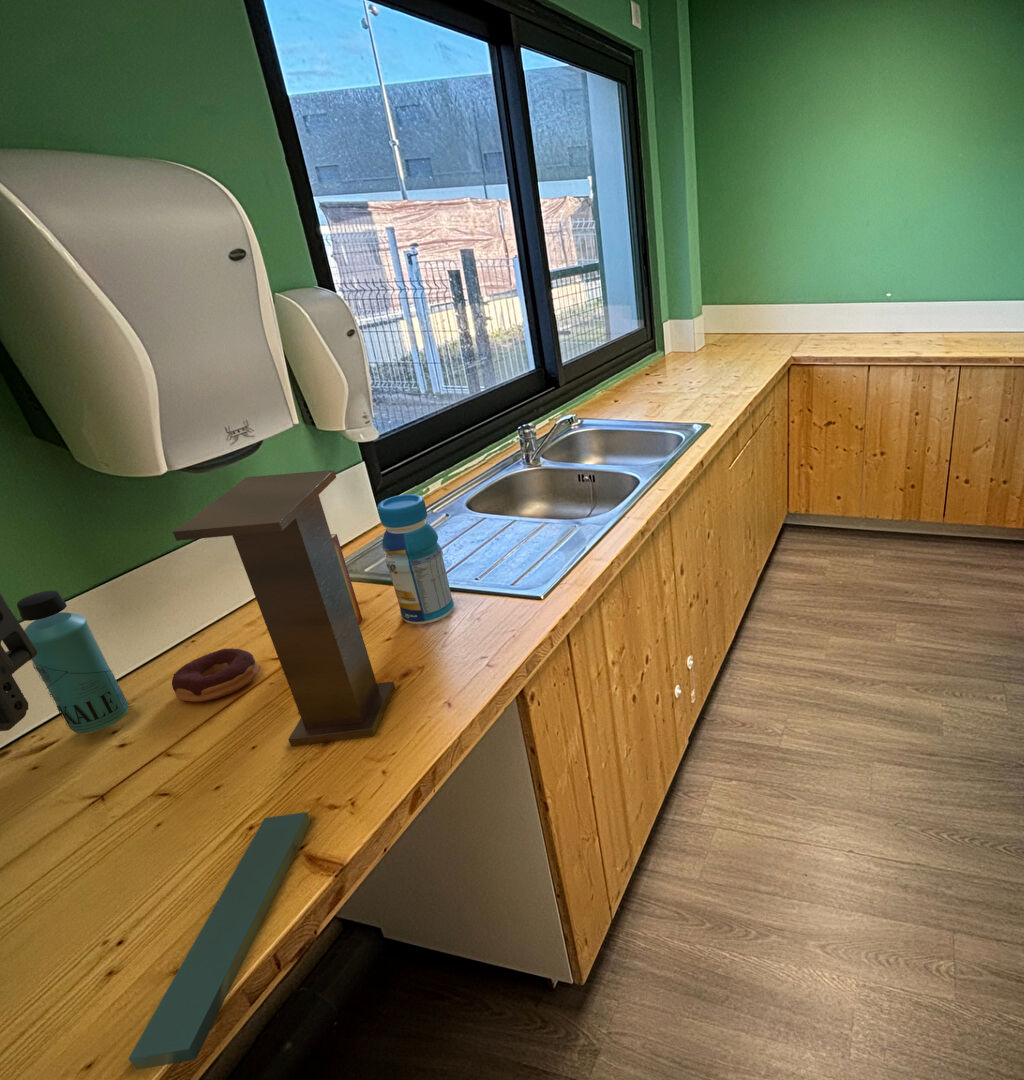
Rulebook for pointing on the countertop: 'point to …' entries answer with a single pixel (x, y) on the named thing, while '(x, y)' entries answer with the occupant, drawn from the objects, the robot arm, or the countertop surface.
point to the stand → (301, 600)
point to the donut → (215, 675)
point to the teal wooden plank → (220, 947)
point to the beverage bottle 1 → (72, 664)
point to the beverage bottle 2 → (414, 560)
